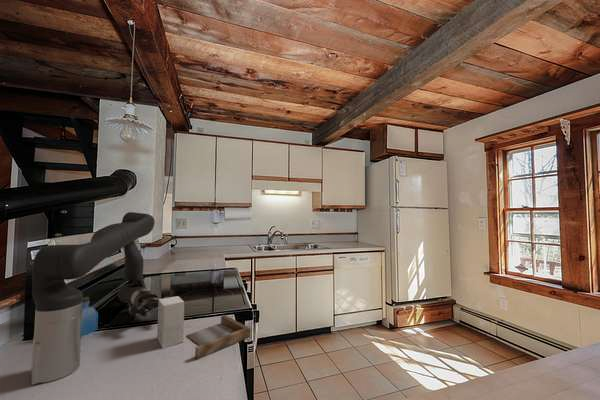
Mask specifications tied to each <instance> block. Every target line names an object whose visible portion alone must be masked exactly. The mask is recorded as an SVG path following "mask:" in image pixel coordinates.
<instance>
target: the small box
mask: <svg viewBox="0 0 600 400" xmlns="http://www.w3.org/2000/svg"><path fill="white" fill-rule="evenodd" d="M184 324H185V301H184V300H183V299H182V298H181V297H180V296H178V295H177V296H172V297H171V296H169V298H165V297H164V298H160V299H159V304H158V310H157V329H156V330H157V331H156V333H157V334H156V339H157V341H158V343H159V345H160V346H161V348H162V349H164V348H168V347H171V346H174V345H177V344H181V343H184V334H185V333H184V331H185V330H184V326H185V325H184Z"/></svg>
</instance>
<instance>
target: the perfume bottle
mask: <svg viewBox="0 0 600 400" xmlns="http://www.w3.org/2000/svg"><path fill="white" fill-rule="evenodd" d="M89 299H90V297H89V296H83V306H82V326H81V338H83V337H85V336H84V335H86V336H88V335H90V334H89V333H91V334H93V333H95V331H96V330H97V331H98V327H99V325H98V324H99V323H98V322H99V312H98V311H97V310H96V308H95V307H94V306H91V305H90V300H89ZM97 331H96V332H97ZM92 332H93V333H92ZM87 334H88V335H87ZM82 336H83V337H82Z"/></svg>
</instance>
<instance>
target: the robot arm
mask: <svg viewBox="0 0 600 400" xmlns="http://www.w3.org/2000/svg"><path fill="white" fill-rule="evenodd" d="M155 224H156V223H155V218H154V216H153V215H151V214H148V213H144V212H143V213H141V212H132V211H130V212H126V213H125V214H124V215H123V217H122V219H121V222H117V223H112V224H109V225H106V226H104V227H101V228H100V229H98V230H97V231H95V232H94V233H93V235H92V236H91V239H90V242H85V243H81V244H50V245H46V246H43V247H42V248H40V249H39V250H38V251H37V253H36V254H35V256H34V258H33V263H32V269H31V270H32V271H31V277H32V278H31V279H32V300H33V302H34V303H35V312H34V313H35V314H34V315H35V316H34V327H33V328H34V330H33V333H34V334H33V339H32V355H31V368H30V369H31V371H30V376H31V377H30V379H31V380H30V381H31V386H33V385H36V384H40V383H47V382H53V381H56V380H58V379H59V380H60V379H62V378H64V377H66V376H68V375H71V374H72V373H74V372H75V371H77V370H78V369H79V368H80V362H81V345H82V343H81V341H82V337H81V326H82V306H83V297H84V293H83V291H82V290H80V289H77V288H74V287H72V286H70V285H68V283H66V280H75V279H80V278H82V277H83V276H86V275H87V274H88V273H89V272H91V271H92V270H93V269H94V268H95V267H97V266H98V265H99V264H100V263H101V262H103V261H104V260H105V259H107V258H109V257H110V256H112V254H113V255H114V253H116V252H118V251H120V250H121V249H123V253H124V267H123V268H124V269H123V271H124V272H123V278H124V280H125V281H127V282H133V283H128V284H123V285H121V286H120V287H119V289H118V290H117V298H118V300H119V301H120V302H122V303H125V304H129V305H128V313H129V314H130V315H131V316H132V317H134V316H136V314H137V315H138V316H139V315H140V316H142V317H144V318H145V317H147V313H149V312H151V311H153V310H156V309H158V304H159V299H161V298H160V297H158V295H157V294H156V293H155V292H153V291H152V290H150V289H147V287H146V284H145V280H144V263H145V262H144V257H143V255H142V253H141V251H140V249H139V248H138V246H137V245H136V242H135V241H136V240H137V239H140V238H143V237H146V236H147V235H149V234H150V233H151V232H152V231H153V229H154V227H155ZM169 297H170V296H168V295H165V296H164V298H169Z"/></svg>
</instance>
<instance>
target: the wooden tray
mask: <svg viewBox="0 0 600 400" xmlns="http://www.w3.org/2000/svg"><path fill="white" fill-rule="evenodd" d="M251 331H252V329H251V327H249V326H247V325H245V324H243V323H241V322H239V321H237V320H235V319H233V318H231V317H230V316H228V315H226V314H225V315H224V314H223V315H221V317H220V323H218V324H214V325H212V326H209V327H205V328H203V329H200V330H198V331H194V332H191V333H189V334H186V338H188V339H190V340H191V341H192V342H194V343H195V344H196V345H197V346H195V347H194V348H195V352H194V354H195V355H194V358H195V359H196V360H197V359H198V360H200V359H203V358H206V357H207V356H209V355H212V354H214V353H216V352H219V351H222V350H224V349H227V348H228V347H230V346H233V345H235V344H238V343H240V342H243V341H245V340H247V339H249V338H251V336H252V334H251V333H252V332H251ZM202 357H203V358H202Z"/></svg>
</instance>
